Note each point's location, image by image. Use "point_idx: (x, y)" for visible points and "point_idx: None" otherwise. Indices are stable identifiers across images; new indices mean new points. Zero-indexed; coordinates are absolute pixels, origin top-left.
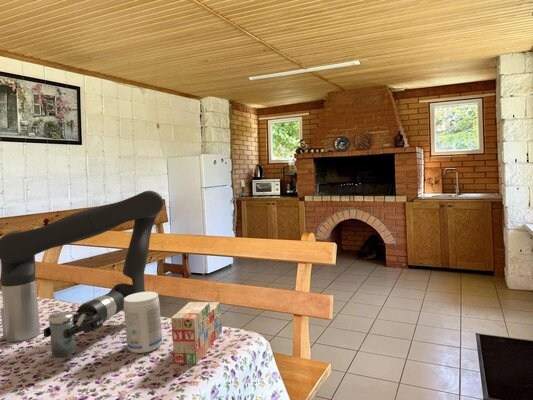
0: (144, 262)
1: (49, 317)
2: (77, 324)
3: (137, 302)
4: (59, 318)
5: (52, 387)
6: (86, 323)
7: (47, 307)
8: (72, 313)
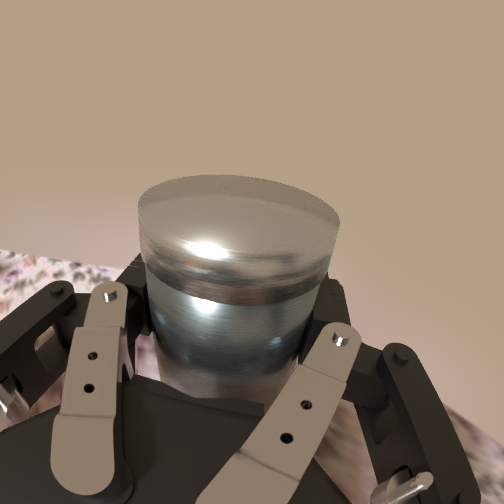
0: None
1: (308, 195)
2: (114, 283)
3: None
4: (214, 177)
5: None
6: (53, 287)
7: None
8: (147, 211)
